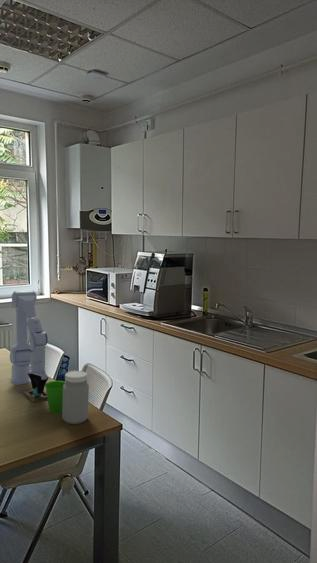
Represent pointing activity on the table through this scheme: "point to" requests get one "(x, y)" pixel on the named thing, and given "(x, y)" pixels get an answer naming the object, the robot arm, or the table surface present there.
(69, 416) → the jar
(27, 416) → the table surface
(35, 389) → the ball
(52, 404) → the cup
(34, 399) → the tray
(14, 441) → the table surface
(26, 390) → the coaster
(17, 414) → the table surface
